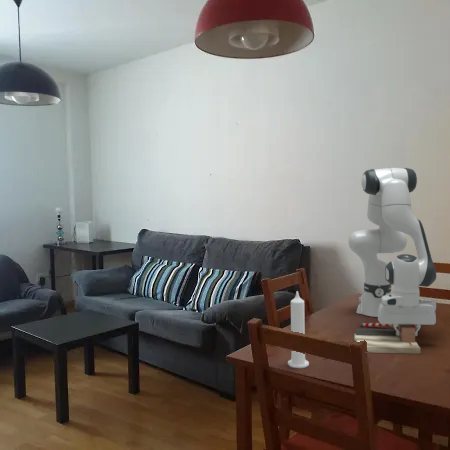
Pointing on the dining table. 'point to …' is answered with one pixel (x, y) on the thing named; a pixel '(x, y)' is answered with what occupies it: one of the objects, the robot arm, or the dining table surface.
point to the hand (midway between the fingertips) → (406, 335)
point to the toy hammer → (379, 324)
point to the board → (385, 341)
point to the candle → (297, 330)
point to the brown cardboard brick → (407, 332)
